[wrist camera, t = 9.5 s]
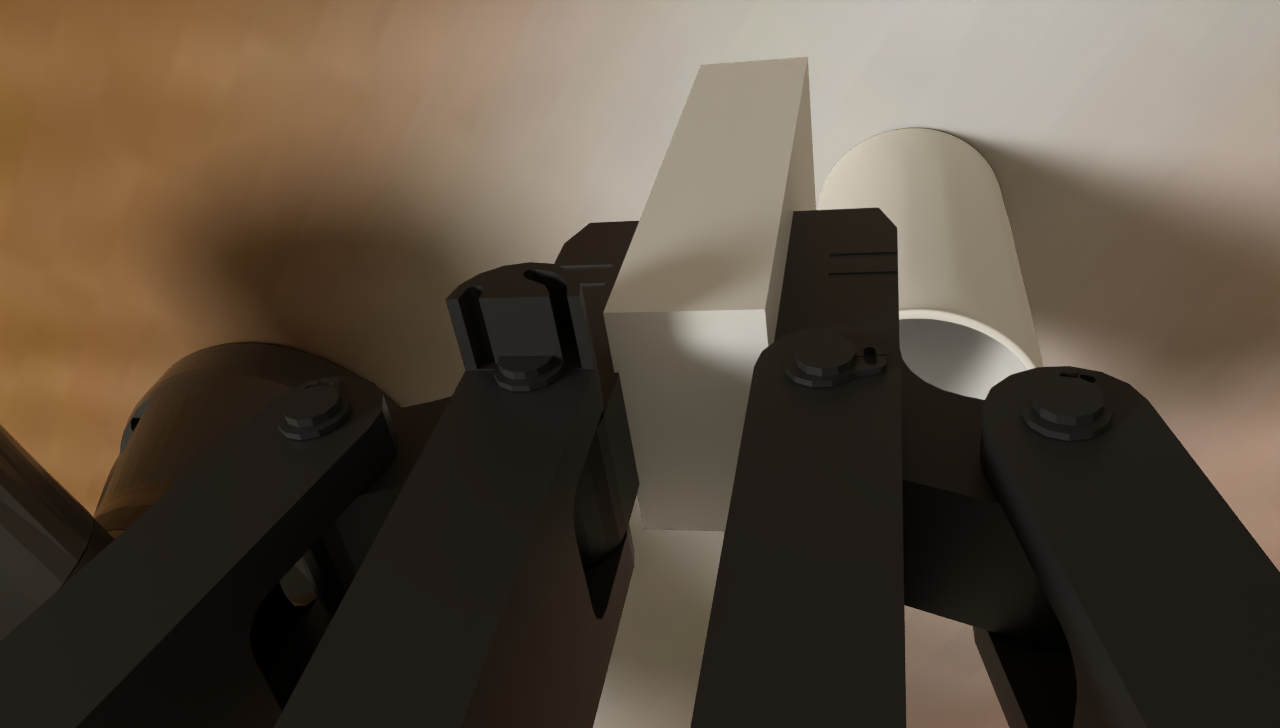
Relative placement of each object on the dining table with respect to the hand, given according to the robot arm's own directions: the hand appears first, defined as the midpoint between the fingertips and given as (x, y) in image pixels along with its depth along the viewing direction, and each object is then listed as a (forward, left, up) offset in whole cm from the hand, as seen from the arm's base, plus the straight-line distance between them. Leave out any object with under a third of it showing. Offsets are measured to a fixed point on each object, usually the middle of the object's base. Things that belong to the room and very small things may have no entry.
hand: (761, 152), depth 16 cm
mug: (+2, -13, -20) cm, 24 cm away
